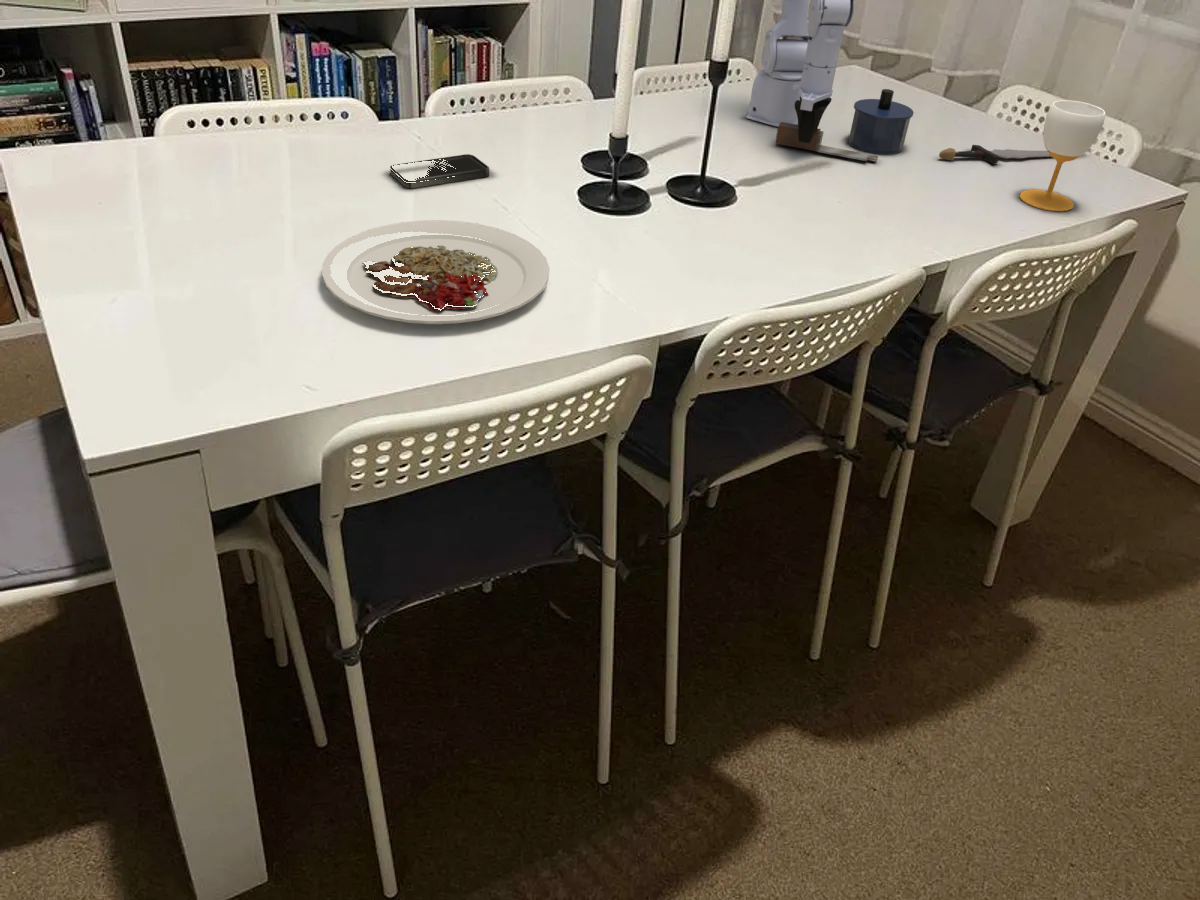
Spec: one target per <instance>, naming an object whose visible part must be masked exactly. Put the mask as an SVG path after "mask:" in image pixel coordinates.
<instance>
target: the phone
mask: <svg viewBox="0 0 1200 900" xmlns="http://www.w3.org/2000/svg"><path fill="white" fill-rule="evenodd" d="M439 159H441V160H439ZM443 159H444V160H446V161H444V162H446V163H448V164H450V165H451V166H453V167H454V168H453V167H450V166H447V165H448V164H447V165H446V166H445V165H443V164H440V165H439V163H440V162H442V161H443ZM432 160H434V161H436V162H438V161H439V162H438V163H436V162H435V164H436V165H435V164H434V165H435V166H437V165H438V166H437V167H438V168H439V169H438V168H437V167H435V166H434V167H435V168H434V167H431V168H432V169H430V168H429V167H430V166H429V167H428V168H429V169H430V170H431V171H430V170H428V171H429V172H428V171H427V172H428V173H429V174H428V173H427V174H428V175H429V176H428V175H426V176H427V177H426V176H425V178H424V177H422V178H420V177H419V179H418V178H417V180H416V179H415V180H416V181H408V180H406V179H404V178H403V177H402V176H401V175H400V174H399V173H398V172H396V171H395V170H394V169H393V168H392V165H393V166H394V165H395V164H392V165H390V166H389V172H390V175H391V176H392V177H393V178H394V179H395V180H396V181H397V182H398V183H400V184H401V185H402V186H403V187H404V188H407V189H416V188H422V187H428V186H436V185H440V184H441V185H442V184H448V183H454V182H461V181H467V180H473V179H479V178H487V177H489V176H490V167H489V166H488V165H487V164H486V163H484V162H483V161H482V160H481V159H479V158H478V157H477V156H475V155H474V154H469V153H466V154H459V155H452V156H444V157H439V158H431V159H424V160H417V161H410V162H403V163H402V164H408V163H413V162H414V163H415V162H422V161H432ZM447 161H448V162H447ZM444 162H443V163H444ZM431 163H432V162H431ZM433 163H434V162H433ZM446 163H445V164H446ZM400 164H401V163H397V165H400ZM441 165H443V166H445V167H446V168H445V167H443V166H441ZM439 166H441V167H443V168H445V169H446V170H447V171H446V170H444V169H443V170H444V171H443V170H441V169H442V168H441V167H439ZM390 168H391V169H392V170H393V171H394V172H395V173H397V174H398V175H399V176H400V177H401V178H402V179H403V180H404V181H406V182H416V183H406V182H404V181H403V180H402V179H401V178H400V177H398V176H397V175H396V174H395V173H394V172H393V171H392V170H391V169H390ZM455 168H456V169H455ZM445 171H446V172H445ZM452 176H455V177H452ZM447 177H449V178H447ZM435 179H436V180H435ZM425 180H426V181H425ZM427 180H429V181H427ZM420 181H423V182H420Z"/></svg>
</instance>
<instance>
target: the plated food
mask: <svg viewBox="0 0 1200 900" xmlns="http://www.w3.org/2000/svg"><path fill="white" fill-rule="evenodd" d="M411 231H412V232H419V231H420V232H427V233H439V234H441V233H443V234H446V233H447V234H453V235H420V236H411V237H404V238H399V239H394V240H391V241H387V242H384V243H381V244H378V245H376V246H374V247H372V248H369V249H367V250H366V251H364V252H363V253H361V254H360V255H358V256H357V257H356V258H355V259H354V260H353V261H352V262H351V264H350V266H349V268H348V270H347V280H348V282H349V284H350V287H351V288H352V289H353V290H354V291H355V292H356V293H357V294H358V295H359V296H361V297H362V298H364V299H365V300H367V301H368V302H371V303H373V304H375V305H378V306H380V307H383V308H387V309H390V310H394V311H398V312H404V313H410V314H418V315H410V314H409V315H408V314H402V313H395V312H391V311H387V310H383V309H380V308H379V309H378V308H376V307H373V306H369V305H368V304H367V305H366V304H364V303H363V302H361V301H359V300H357V299H356V298H354V297H352V296H349V295H348V294H346V293H345V292H344V291H343V290H341V288H339V286H338V285H336V283H335V282H334V280H333V279H332V277H331V276H330V275H331V274H332V273H331V270H330V268H331V267H330V265H331V264H332V263H333V262H332V261H333V259H334V257H335V256H336V255H337V253H339V252H340V250H342V249H343V248H344V247H345V248H346V247H348V246H349V245H350V244H352V243H353V244H354V243H356V242H359V241H362V240H363V239H364V240H365V239H367V238H368V237H370V238H371V237H372V236H373V237H376V236H380V235H385V234H393V233H396V234H397V233H398V232H400V233H402V232H411ZM454 235H461V236H454ZM462 236H470V237H473V238H469V237H462ZM475 237H476V238H477V239H475ZM479 238H480V239H482V240H479ZM483 240H485V241H483ZM487 241H488V242H487ZM490 242H491V243H490ZM411 247H413V248H411ZM398 253H399V254H398ZM469 253H470V254H469ZM396 254H398V255H396ZM471 254H472V255H471ZM395 255H396V256H395ZM474 255H475V256H474ZM392 257H393V258H394V259H395V263H396V262H398V263H402V264H404V266H401V267H398V266H395V264H394V262H393V261H392ZM485 259H486V260H485ZM487 259H488V260H487ZM367 261H372V262H377V263H375V264H373V265H369V268H368V269H367V268H365V267H366V265H365V264H364V263H363V262H367ZM481 263H484V264H486V265H490V264H491V266H488V267H487V269H486V268H484V269H483V267H486V265H484V266H482V267H478V265H480V266H481V265H483V264H481ZM389 266H390V267H392V268H393V269H394V270H395V271H399V272H400V273H402V274H405V273H406V274H407V273H409V272H411V273H413V275H415V274H416V275H422V277H425V276H427V275H429V277H427V279H428V280H423V279H412V278H411V276H408V277H402V276H399V277H401V278H396V277H393V276H390V275H389V276H387V275H386V276H387V277H386V276H384V278H385V281H386V280H387V282H389V281H390V282H393V280H394V282H401V283H403V282H404V283H405V284H406V283H407V282H408V281H409V280H410V279H412V283H408V284H407V285H400V284H395V285H390V284H387V283H385V282H382V281H381V280H380V279H379V278H378V277H374V275H373V274H371V273H366V271H368V270H369V271H372V272H380V271H382V270H386V269H390V268H389ZM492 266H493V267H494V268H493V267H492ZM321 269H322V270H321V277H322V279H323V283H324V284H325V287H326V289H327V290H328V291H329V292H330V293H331V294H332V295H333V296H334V297H335V298H336V299H338V300H339V301H341V302H342V303H344V304H345V305H347V306H349V307H350V308H352V309H355V310H358V311H360V312H362V313H364V314H367V315H370V316H374V317H378V318H381V319H384V320H390V321H396V322H403V323H409V324H426V325H445V324H446V325H447V324H462V323H470V322H476V321H482V320H486V319H490V318H495V317H499V316H502V315H505V314H507V313H509V312H513V311H515V310H517V309H520V308H522V307H523V306H525V305H527V304H528V303H530V302H532V301H534V299H536V298H537V296H539V295H540V294H541V293H542V292H543V291H544V289H545V288H546V285H547V284H548V282H549V277H550V265H549V263H548V260H547V258H546V256H545V255H544V254H543V252H542V251H541V250H540V249H539V248H538V247H536V246H535V245H534V244H532V243H531V242H530V241H529V240H526V239H525V238H523V237H521V236H519V235H517V234H515V233H513V232H510V231H506V230H504V229H500V228H497V227H494V226H489V225H486V224H481V223H477V222H476V223H475V222H468V221H461V220H443V219H429V220H424V219H423V220H422V219H421V220H420V219H419V220H412V221H411V220H410V221H401V222H396V223H390V224H385V225H380V226H376V227H373V228H371V229H367V230H364V231H361V232H359V233H356V234H354V235H352V236H350V237H348V238H346V239H345V240H343V241H341V242H339V243H338V244H337V245H336V246H334V247H333V248H332V249H331V250H330V251H329V252H328V253H327V255H326V257H325V258H324V261H323V263H322V268H321ZM393 269H392V270H393ZM491 269H493V270H491ZM494 270H495V271H496V272H492V271H494ZM483 272H490V273H483ZM491 272H492V273H491ZM330 273H331V274H330ZM486 274H489V275H486ZM472 275H473V276H472ZM483 275H485V277H484V276H483ZM461 276H462V277H461ZM478 276H480V277H481V278H482V277H484V278H483V279H482V280H481V278H480V277H478ZM408 278H409V279H408ZM414 278H415V277H414ZM419 278H421V277H419ZM474 279H475V281H474ZM479 281H481V282H479ZM373 284H374V285H376V287H378V289H381V290H383V291H390V292H396V293H401V294H410V293H413V294H414V293H415V294H417V295H418V298H420V299H421V300H423V301H427V302H429V303H426V302H422V301H419V299H418V298H417V297H416V296H415V295H407V296H401V295H396V294H392V293H382V292H381V291H379V290H377V289H375V288H374V287H373ZM420 285H421V286H420ZM474 291H476V292H477V293H474ZM485 292H486V293H485ZM476 294H478V295H476ZM483 295H484V296H483ZM480 296H481V298H479V297H480ZM482 296H483V297H482ZM478 299H479V300H478ZM477 300H478V301H477ZM430 303H431V304H432V305H433V306H435V308H440V309H442V308H443V307H444V306H445V304H447V303H448V305H453V306H465V305H466V306H473V305H476V304H477V305H476V306H474V307H452V306H446V307H444V309H442V310H441V311H440V310H438V309H434V307H432V305H431V304H430ZM498 304H499V305H498ZM495 305H497V306H495ZM493 306H494V307H493ZM490 307H492V308H490ZM487 308H489V309H487ZM483 309H486V310H483ZM479 310H483V311H479ZM475 311H478V312H475ZM470 312H475V313H470ZM463 313H468V314H465V315H464V314H463ZM456 314H463V315H456ZM422 315H425V316H422ZM427 315H455V316H427Z"/></svg>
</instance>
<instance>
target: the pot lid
mask: <svg viewBox="0 0 1200 900" xmlns="http://www.w3.org/2000/svg"><path fill="white" fill-rule="evenodd" d="M894 93H895V91H894V90H893V89H889V88H883V89H882V90H881V92H880V98H864V99H859V100H857V101H855V102H854V105H853V108H854V111H855V110H856V111H857V112H859V113H861V114H863V115H866V116H869V117H873V118H877V119H883V120H906V119H909V118H910V119H911V118H913V116H914V114H915V113H914V110H913V108H911V107H909V106H907V105H905V104H903V103H900V102H897V101H893V98H894Z"/></svg>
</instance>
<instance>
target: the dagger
mask: <svg viewBox="0 0 1200 900" xmlns="http://www.w3.org/2000/svg"><path fill="white" fill-rule="evenodd" d="M938 156H939V158H940V159H943V160H947V161H954V159H955V158H975V159H982V160H985V161H987V162H988V163H990V164H993V165H995V164H998V162H999V159H1027V158H1049V157H1050V158H1052V157H1051V156H1050V154H1049V153H1048V151H1047V150H1025V149H1024V150H1019V149H1010V148H1008V149H993V150H988V149H986V148H985V147H983V146H981V145H979V144H972V145H971V148H970V150H962V151H957V150H956V149H955V148H952V147H949V148H946V149H942V150H941V151H940V152H939V154H938Z"/></svg>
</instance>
